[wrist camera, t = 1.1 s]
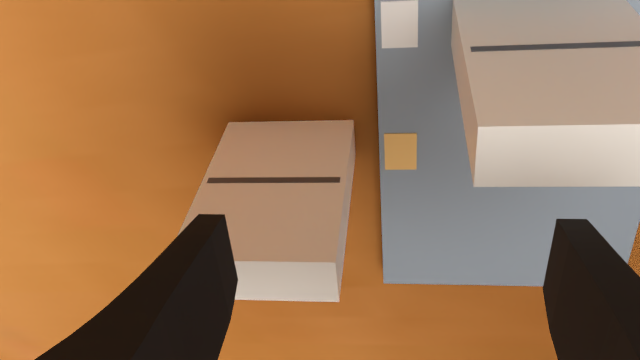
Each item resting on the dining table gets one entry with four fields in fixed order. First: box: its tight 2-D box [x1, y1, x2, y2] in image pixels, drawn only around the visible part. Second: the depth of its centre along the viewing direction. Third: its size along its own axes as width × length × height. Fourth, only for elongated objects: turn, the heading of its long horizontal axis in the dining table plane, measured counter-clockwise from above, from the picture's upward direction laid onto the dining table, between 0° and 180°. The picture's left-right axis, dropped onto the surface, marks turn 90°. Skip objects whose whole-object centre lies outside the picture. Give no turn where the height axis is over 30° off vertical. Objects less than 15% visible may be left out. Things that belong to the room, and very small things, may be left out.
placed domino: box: [177, 120, 356, 302], centre depth 21 cm, size 2×5×8 cm, turn 95°
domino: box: [451, 0, 640, 187], centre depth 16 cm, size 2×5×8 cm, turn 95°
